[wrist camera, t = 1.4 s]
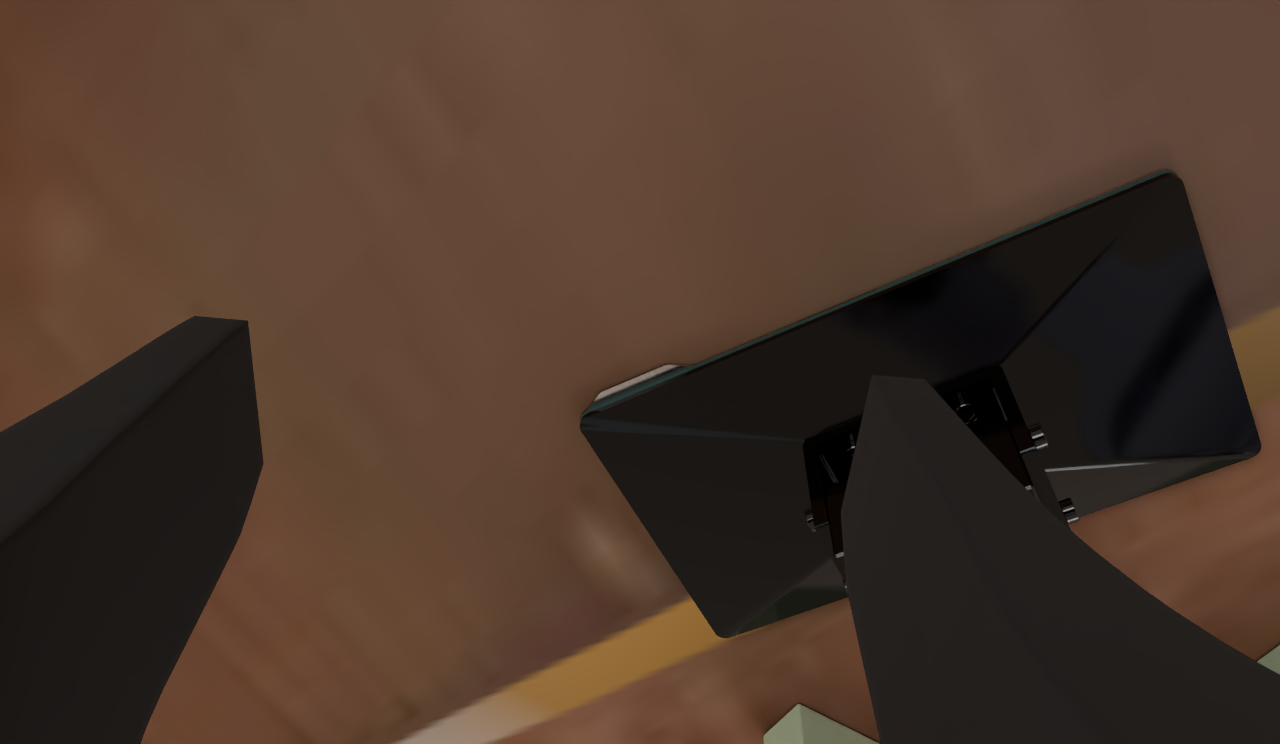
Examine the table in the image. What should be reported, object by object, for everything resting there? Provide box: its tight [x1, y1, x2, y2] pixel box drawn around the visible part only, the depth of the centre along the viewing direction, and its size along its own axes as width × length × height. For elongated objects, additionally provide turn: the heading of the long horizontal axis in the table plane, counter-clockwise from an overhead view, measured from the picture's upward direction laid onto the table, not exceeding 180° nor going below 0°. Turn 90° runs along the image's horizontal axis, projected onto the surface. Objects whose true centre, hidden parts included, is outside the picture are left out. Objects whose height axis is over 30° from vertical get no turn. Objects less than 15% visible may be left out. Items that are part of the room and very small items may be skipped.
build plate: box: [580, 169, 1261, 638], centre depth 23 cm, size 12×7×5 cm, turn 118°
